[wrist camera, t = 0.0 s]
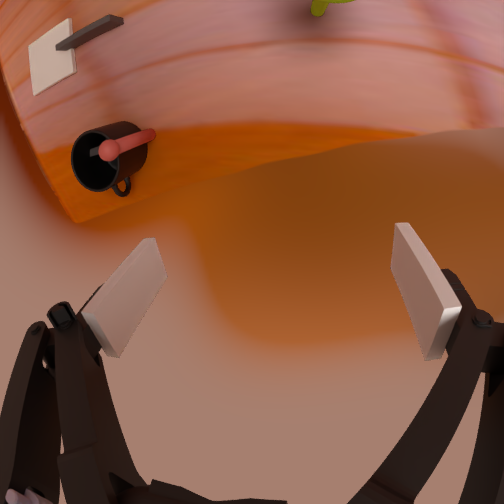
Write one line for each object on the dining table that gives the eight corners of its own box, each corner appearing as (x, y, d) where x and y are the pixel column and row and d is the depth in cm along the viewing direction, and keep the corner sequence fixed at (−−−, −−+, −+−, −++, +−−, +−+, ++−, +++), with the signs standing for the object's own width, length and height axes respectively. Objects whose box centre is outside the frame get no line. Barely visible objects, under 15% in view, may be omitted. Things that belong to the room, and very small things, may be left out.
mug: (120, 194, 48) (91, 214, 40) (96, 134, 42) (62, 146, 35) (162, 177, 45) (136, 197, 38) (137, 112, 40) (105, 118, 32)
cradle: (69, 45, 33) (17, 45, 22) (138, 11, 30) (89, -5, 19) (90, 159, 45) (41, 183, 33) (159, 141, 42) (114, 161, 31)
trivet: (31, 45, 33) (28, 46, 32) (71, 18, 30) (68, 17, 29) (36, 95, 38) (33, 96, 38) (77, 72, 36) (73, 72, 35)
